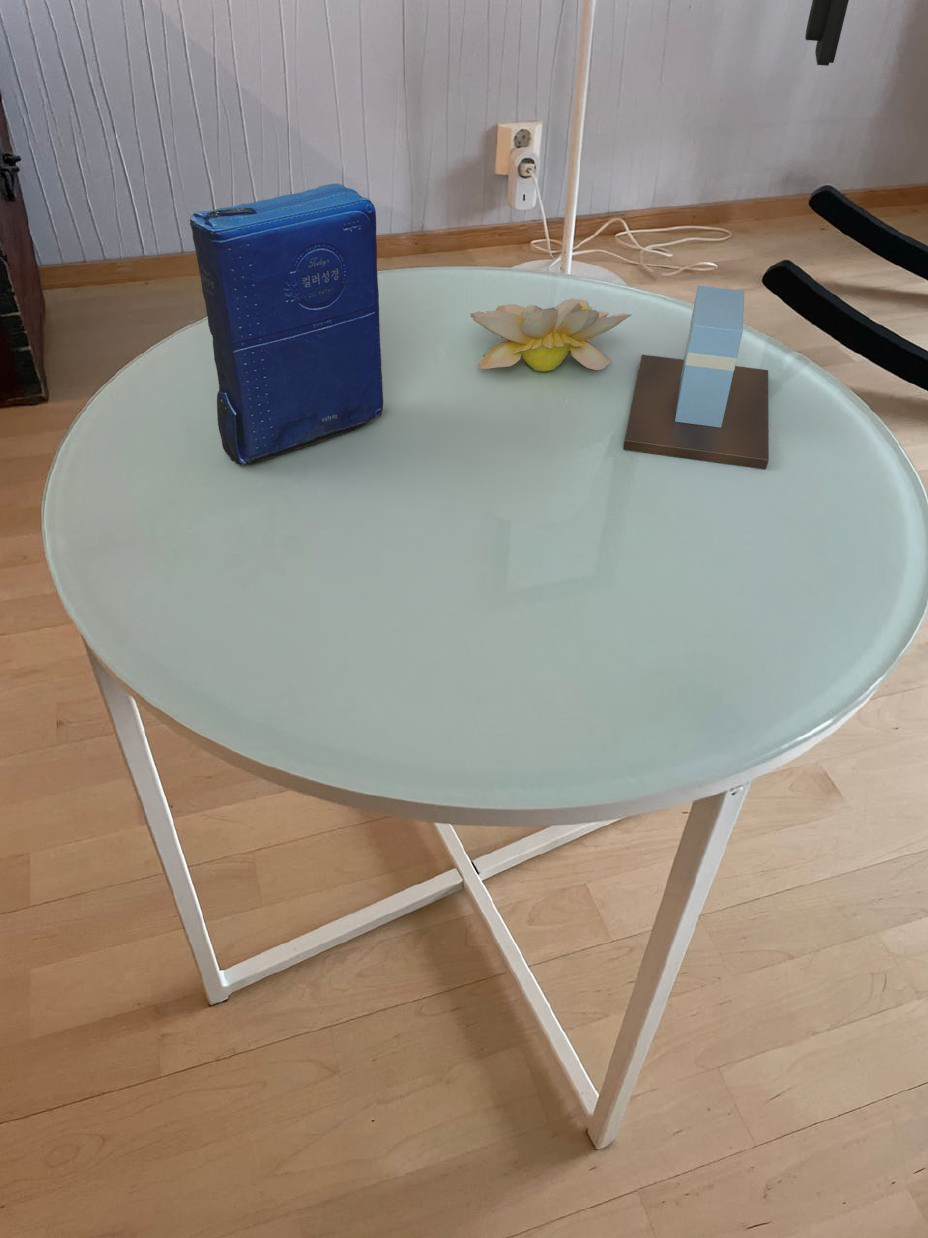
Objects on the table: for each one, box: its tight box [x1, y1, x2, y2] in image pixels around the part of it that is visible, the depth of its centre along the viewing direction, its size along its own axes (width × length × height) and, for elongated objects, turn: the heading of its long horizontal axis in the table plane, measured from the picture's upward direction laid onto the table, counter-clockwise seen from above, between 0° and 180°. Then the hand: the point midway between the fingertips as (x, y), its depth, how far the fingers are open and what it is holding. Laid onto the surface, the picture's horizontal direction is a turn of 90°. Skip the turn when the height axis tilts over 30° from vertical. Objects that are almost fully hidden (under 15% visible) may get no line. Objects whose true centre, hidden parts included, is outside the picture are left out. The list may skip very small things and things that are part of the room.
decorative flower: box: [469, 298, 632, 373], centre depth 94 cm, size 15×11×10 cm
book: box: [189, 183, 384, 466], centre depth 79 cm, size 14×5×20 cm, turn 126°
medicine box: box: [675, 285, 745, 428], centre depth 87 cm, size 4×8×9 cm, turn 167°
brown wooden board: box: [623, 354, 770, 470], centre depth 90 cm, size 12×16×1 cm
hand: (927, 66), depth 47 cm, fingers open, 9 cm apart
